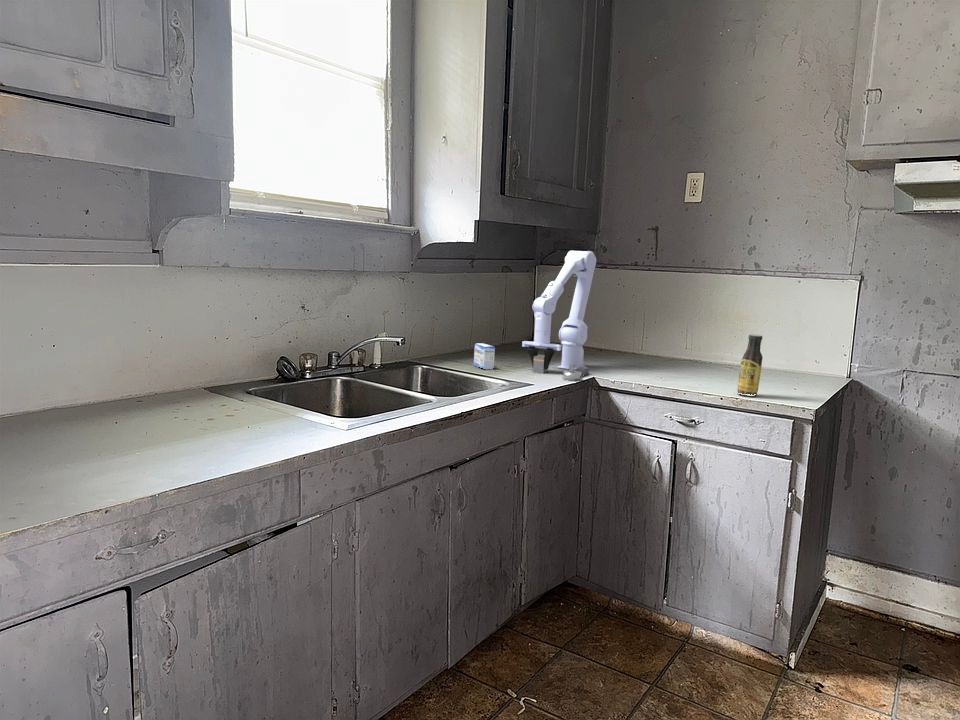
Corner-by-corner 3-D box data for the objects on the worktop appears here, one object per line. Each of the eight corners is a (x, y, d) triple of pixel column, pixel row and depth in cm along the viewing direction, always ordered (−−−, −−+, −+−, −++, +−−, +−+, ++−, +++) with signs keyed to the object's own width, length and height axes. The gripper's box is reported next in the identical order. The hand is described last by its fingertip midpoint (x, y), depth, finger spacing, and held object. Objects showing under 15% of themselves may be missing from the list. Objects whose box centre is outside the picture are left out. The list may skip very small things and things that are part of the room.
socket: (537, 370, 244) (538, 354, 243) (547, 371, 242) (548, 355, 241) (532, 372, 240) (533, 355, 239) (543, 373, 238) (544, 357, 237)
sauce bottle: (732, 394, 216) (739, 333, 212) (743, 392, 220) (750, 333, 216) (751, 398, 211) (758, 336, 207) (762, 396, 214) (769, 335, 211)
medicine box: (473, 366, 247) (474, 343, 246) (483, 365, 249) (484, 343, 248) (483, 370, 240) (484, 346, 239) (494, 369, 242) (495, 346, 241)
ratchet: (576, 372, 244) (577, 358, 243) (592, 374, 241) (593, 360, 240) (559, 379, 228) (560, 365, 228) (576, 381, 226) (577, 367, 225)
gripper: (519, 330, 238) (517, 367, 241) (557, 333, 232) (555, 372, 234) (527, 328, 245) (525, 364, 247) (564, 332, 238) (562, 369, 240)
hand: (540, 368), depth 241 cm, fingers closed on socket, 4 cm apart
